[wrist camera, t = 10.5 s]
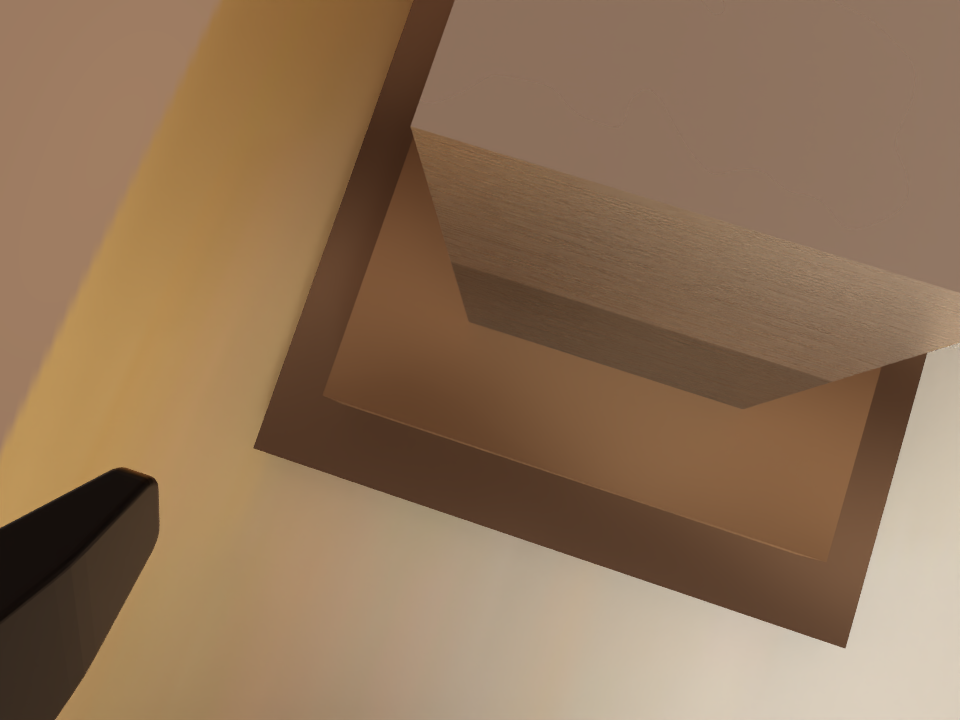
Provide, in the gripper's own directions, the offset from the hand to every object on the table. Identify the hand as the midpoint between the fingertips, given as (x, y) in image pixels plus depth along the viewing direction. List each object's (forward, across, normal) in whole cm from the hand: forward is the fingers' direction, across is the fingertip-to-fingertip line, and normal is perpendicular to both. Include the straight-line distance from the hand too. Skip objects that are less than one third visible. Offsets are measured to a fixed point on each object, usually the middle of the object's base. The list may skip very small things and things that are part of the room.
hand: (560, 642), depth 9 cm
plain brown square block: (+10, 0, +1) cm, 10 cm away
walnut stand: (+13, 0, +3) cm, 13 cm away
